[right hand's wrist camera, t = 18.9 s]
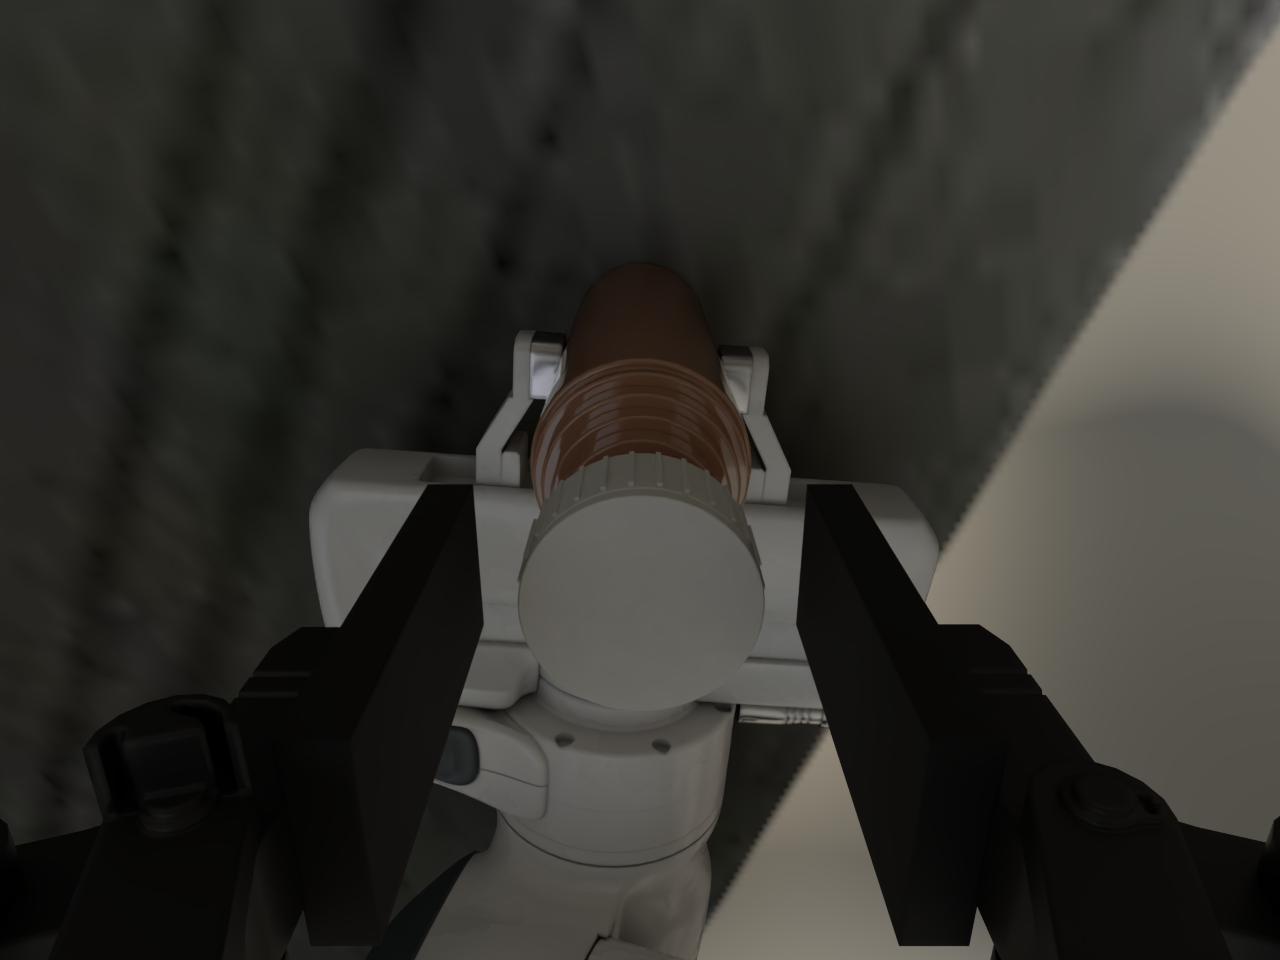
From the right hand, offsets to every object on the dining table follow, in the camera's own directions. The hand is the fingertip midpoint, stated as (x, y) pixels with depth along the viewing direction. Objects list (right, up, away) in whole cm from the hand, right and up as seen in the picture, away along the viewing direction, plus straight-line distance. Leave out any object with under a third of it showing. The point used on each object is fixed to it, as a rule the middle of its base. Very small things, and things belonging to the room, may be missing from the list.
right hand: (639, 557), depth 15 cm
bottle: (0, +7, +18) cm, 19 cm away
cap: (0, -1, -1) cm, 1 cm away
